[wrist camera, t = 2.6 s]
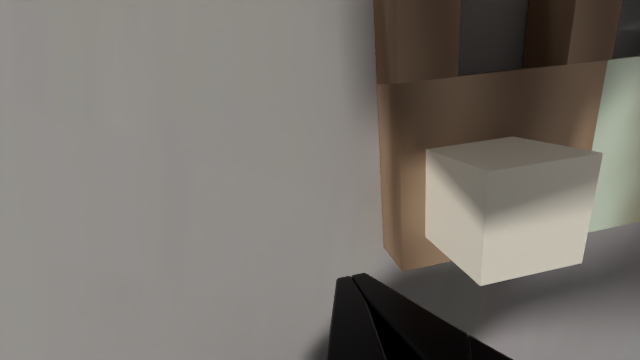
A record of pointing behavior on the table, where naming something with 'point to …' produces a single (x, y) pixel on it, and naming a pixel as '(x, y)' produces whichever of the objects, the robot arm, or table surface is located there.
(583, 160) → the block
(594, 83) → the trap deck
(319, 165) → the table surface
